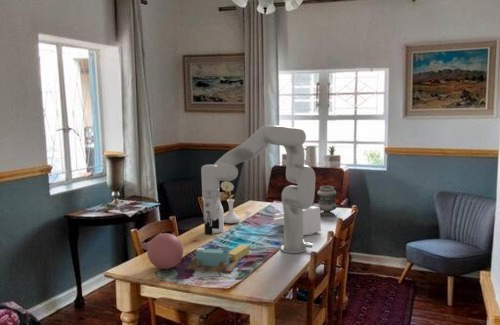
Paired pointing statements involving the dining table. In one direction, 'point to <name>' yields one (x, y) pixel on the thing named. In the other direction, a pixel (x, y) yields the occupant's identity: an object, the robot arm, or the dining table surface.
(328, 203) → the apothecary jar
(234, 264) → the jig
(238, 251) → the tan wooden bar
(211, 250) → the teal notched block
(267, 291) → the dining table surface
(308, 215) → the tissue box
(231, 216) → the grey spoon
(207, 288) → the dining table surface
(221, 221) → the wine bottle
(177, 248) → the balloon
